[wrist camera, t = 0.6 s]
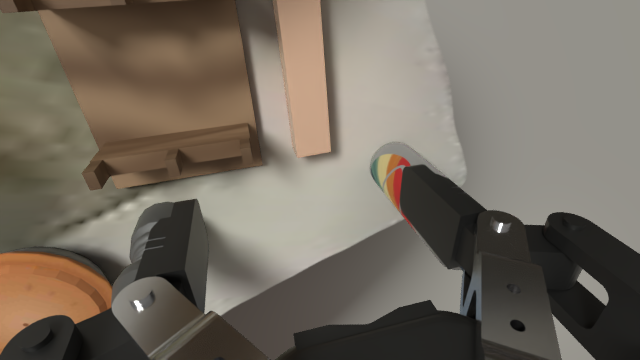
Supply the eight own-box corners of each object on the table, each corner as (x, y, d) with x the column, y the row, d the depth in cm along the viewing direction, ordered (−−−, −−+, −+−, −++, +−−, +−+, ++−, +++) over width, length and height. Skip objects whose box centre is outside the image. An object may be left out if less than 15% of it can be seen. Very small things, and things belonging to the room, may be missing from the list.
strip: (263, -60, 26) (268, -66, 23) (306, -63, 26) (315, -69, 24) (292, 146, 35) (297, 157, 32) (323, 140, 36) (330, 151, 33)
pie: (85, 211, 33) (65, 243, 28) (151, 308, 41) (142, 344, 36) (-87, 255, 31) (-136, 297, 26) (18, 348, 39) (-7, 391, 34)
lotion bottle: (359, 174, 38) (464, 313, 22) (386, 133, 37) (523, 250, 20) (395, 189, 41) (513, 325, 24) (421, 151, 39) (569, 270, 22)
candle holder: (200, 246, 38) (168, 561, 17) (141, 249, 36) (22, 605, 15) (198, 201, 35) (155, 513, 14) (134, 202, 33) (-26, 560, 12)
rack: (9, -70, 22) (-72, -94, 16) (221, -76, 24) (220, -99, 18) (119, 183, 32) (95, 226, 26) (261, 160, 34) (268, 194, 29)
